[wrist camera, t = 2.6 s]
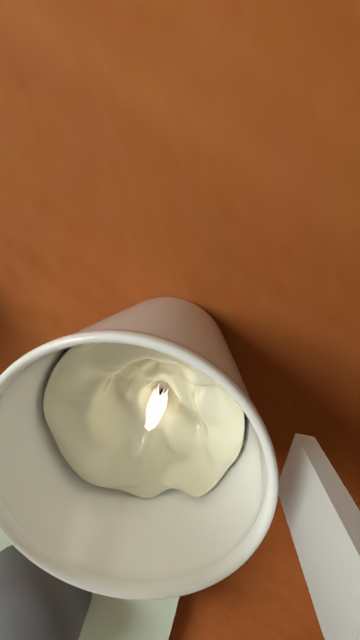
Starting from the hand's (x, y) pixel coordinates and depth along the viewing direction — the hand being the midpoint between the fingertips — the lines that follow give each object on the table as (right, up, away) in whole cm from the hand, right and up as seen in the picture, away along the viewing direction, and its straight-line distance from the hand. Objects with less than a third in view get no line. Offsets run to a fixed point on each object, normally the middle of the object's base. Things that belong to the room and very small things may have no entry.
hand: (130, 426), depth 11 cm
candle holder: (+1, +2, +9) cm, 9 cm away
